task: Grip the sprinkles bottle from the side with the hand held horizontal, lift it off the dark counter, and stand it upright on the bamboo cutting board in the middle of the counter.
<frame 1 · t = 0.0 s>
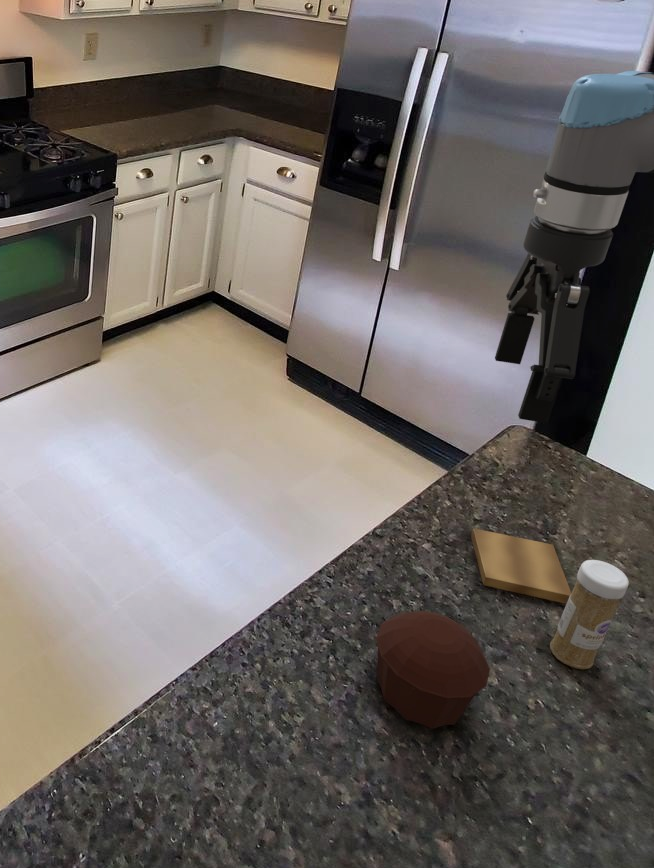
hand: (519, 388, 95), 31 cm above the countertop, tool pointing down, fingers open, 13 cm apart
sprinkles bottle: (570, 656, 97), on the countertop
muffin: (418, 694, 93), on the countertop
cutting board: (517, 568, 110), on the countertop
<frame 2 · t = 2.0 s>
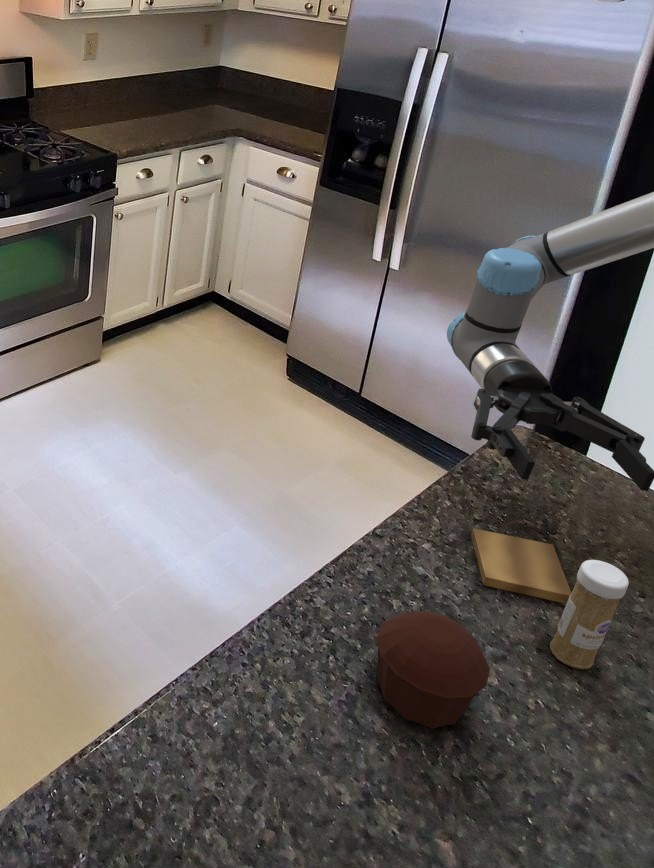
hand: (588, 476, 97), 20 cm above the countertop, tool horizontal, fingers open, 13 cm apart
nothing on the countertop moved.
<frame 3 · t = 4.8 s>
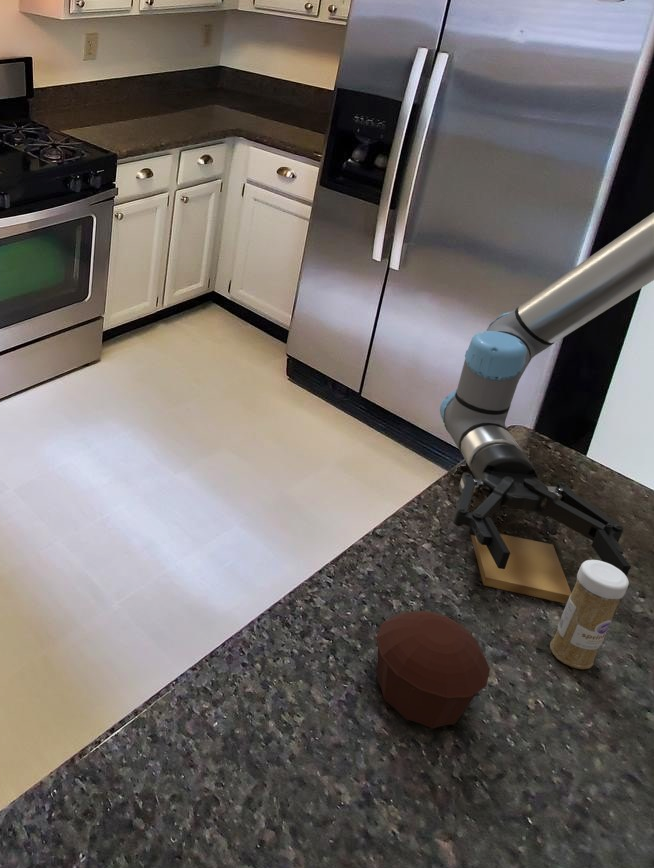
hand: (563, 567, 100), 8 cm above the countertop, tool horizontal, fingers open, 13 cm apart
nothing on the countertop moved.
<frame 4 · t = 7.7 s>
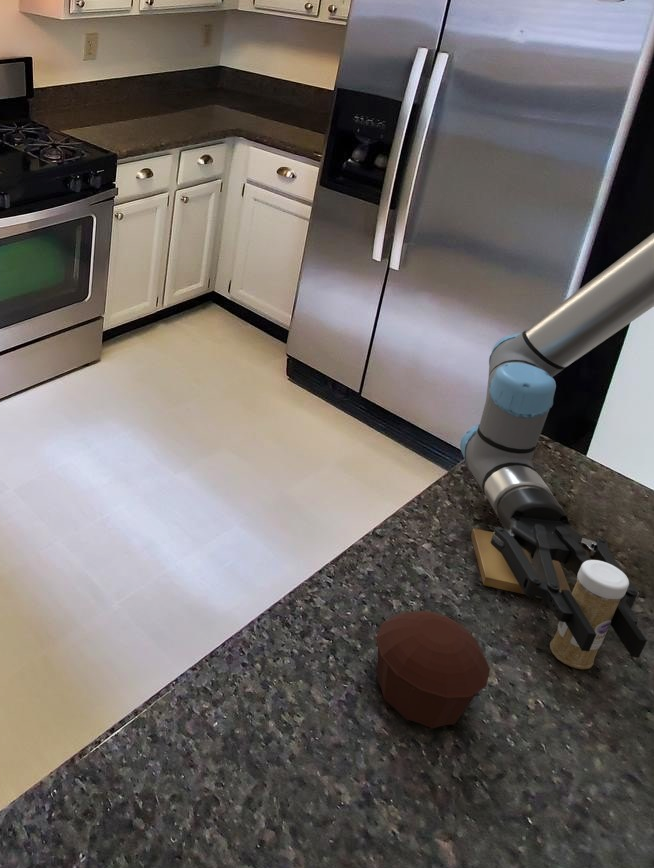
hand: (613, 645, 89), 8 cm above the countertop, tool horizontal, fingers closed on sprinkles bottle, 4 cm apart
sprinkles bottle: (570, 656, 97), on the countertop, touching gripper
everything else where it was.
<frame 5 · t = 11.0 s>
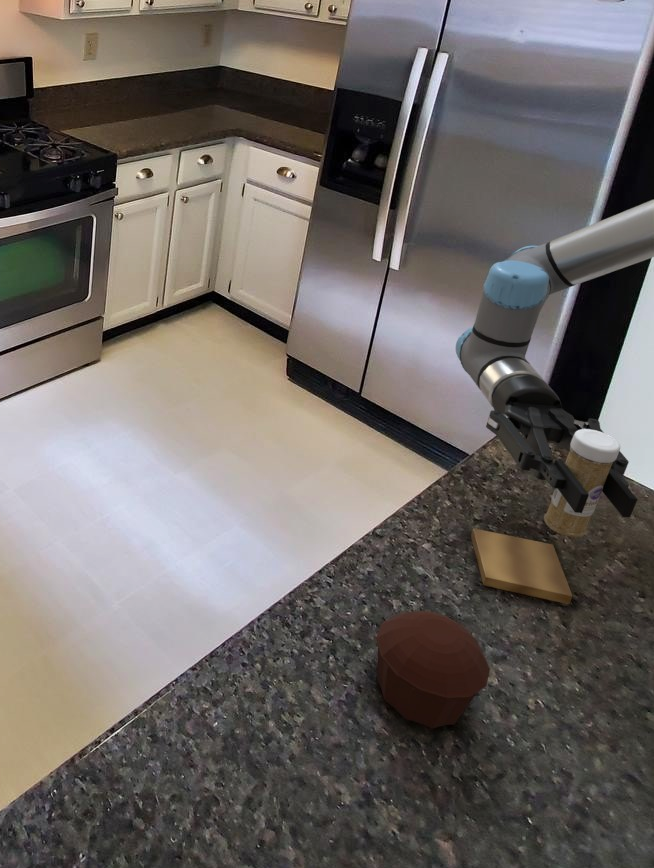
hand: (605, 505, 92), 20 cm above the countertop, tool horizontal, fingers closed on sprinkles bottle, 4 cm apart
sprinkles bottle: (563, 527, 100), point 12 cm above the countertop, touching gripper
everything else where it was.
when the fingers open (9 cm above the countertop, at t = 14.8 s): sprinkles bottle stays where it is, resting on cutting board.
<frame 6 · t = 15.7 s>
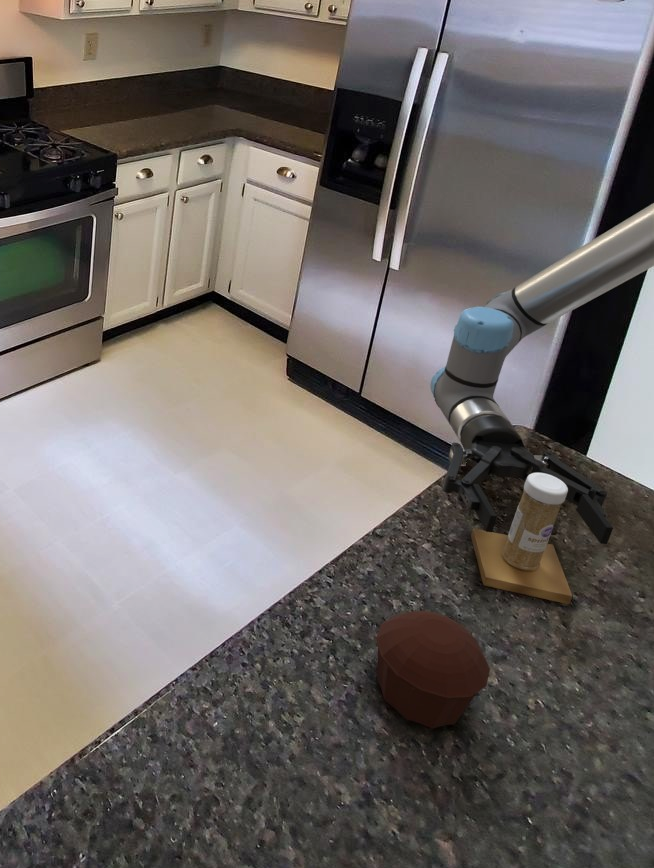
hand: (548, 530, 103), 10 cm above the countertop, tool horizontal, fingers open, 13 cm apart
sprinkles bottle: (519, 561, 110), point 1 cm above the countertop, touching cutting board
everything else where it was.
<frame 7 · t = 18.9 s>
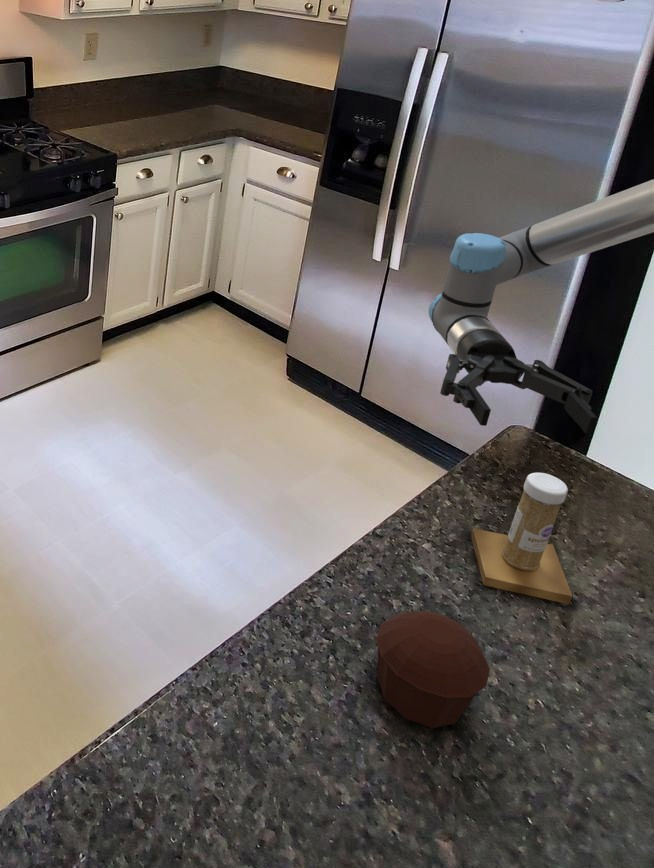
hand: (538, 421, 112), 17 cm above the countertop, tool horizontal, fingers open, 13 cm apart
nothing on the countertop moved.
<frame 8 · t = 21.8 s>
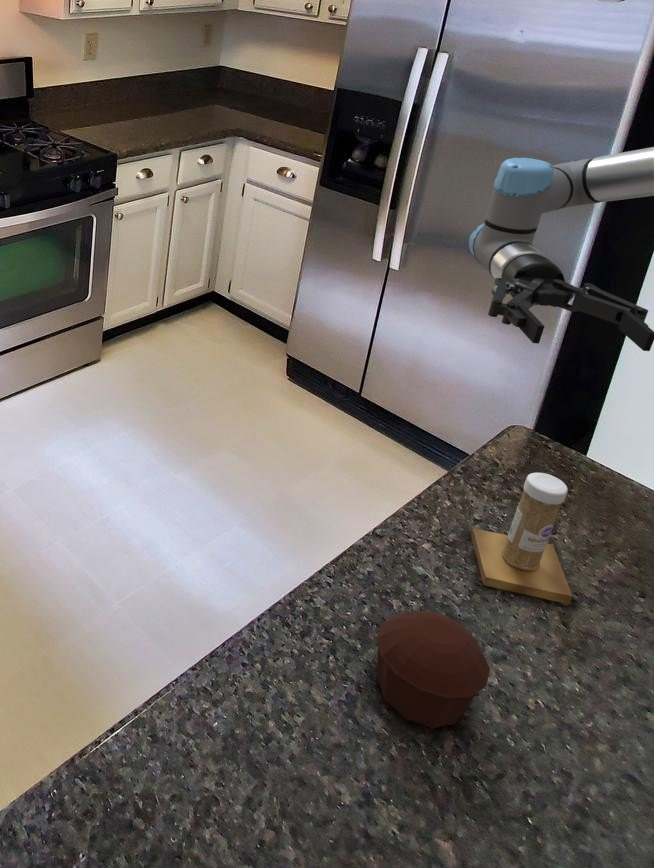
hand: (593, 338, 107), 30 cm above the countertop, tool horizontal, fingers open, 13 cm apart
nothing on the countertop moved.
at the end: sprinkles bottle inside the target area on the cutting board (0.1 cm from its centre), point 1.3 cm above the cutting board's base; sprinkles bottle tilted 0°; the gripper is holding nothing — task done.
